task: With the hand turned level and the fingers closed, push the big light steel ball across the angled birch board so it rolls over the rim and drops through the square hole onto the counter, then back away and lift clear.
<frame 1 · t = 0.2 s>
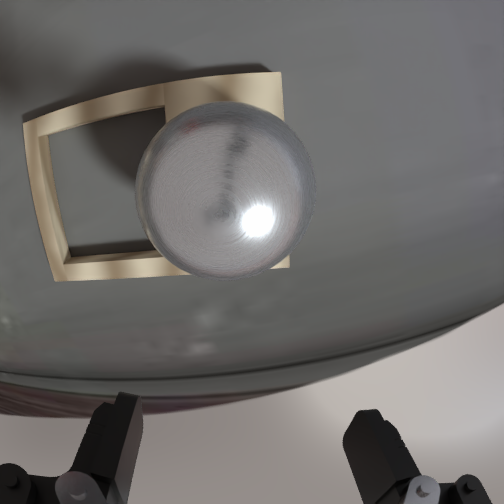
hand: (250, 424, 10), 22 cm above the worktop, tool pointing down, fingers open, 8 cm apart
hole board: (147, 182, 27), on the worktop
ball: (225, 190, 20), point 8 cm above the worktop, touching hole board
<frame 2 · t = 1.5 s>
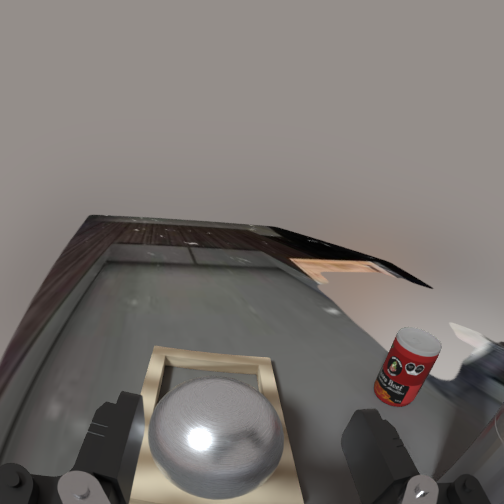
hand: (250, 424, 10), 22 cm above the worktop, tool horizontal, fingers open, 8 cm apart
canned food: (393, 393, 42), on the worktop
hole board: (210, 425, 33), on the worktop
ball: (215, 438, 23), point 8 cm above the worktop, touching hole board
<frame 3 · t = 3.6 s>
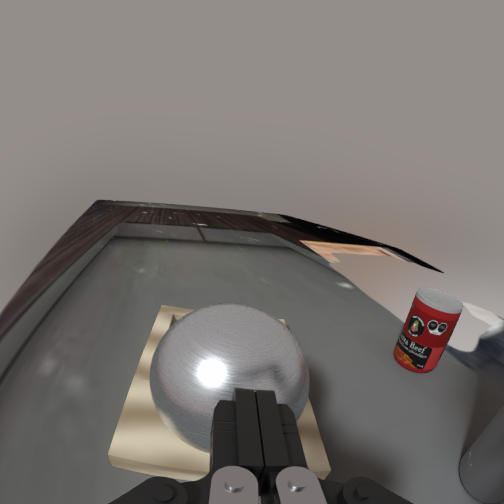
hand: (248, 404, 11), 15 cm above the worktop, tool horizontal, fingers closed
canned food: (413, 361, 40), on the worktop
hole board: (220, 384, 31), on the worktop
ball: (229, 380, 21), point 8 cm above the worktop, touching hole board
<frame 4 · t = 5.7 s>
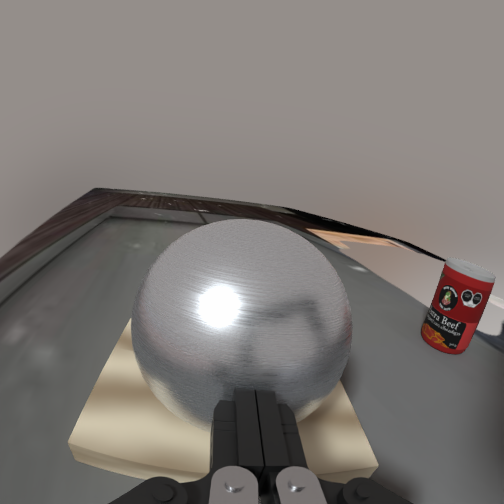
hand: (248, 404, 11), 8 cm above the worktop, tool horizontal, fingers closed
canned food: (442, 342, 34), on the worktop
hole board: (224, 362, 25), on the worktop
ball: (241, 329, 16), point 8 cm above the worktop, tilted 8°, touching hole board
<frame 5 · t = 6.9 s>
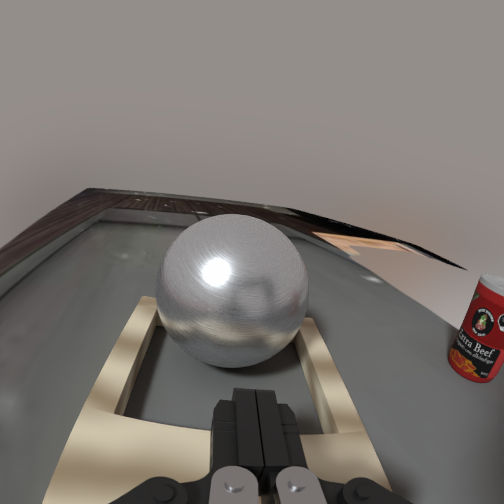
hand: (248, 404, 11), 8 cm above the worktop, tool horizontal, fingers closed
canned food: (470, 368, 28), on the worktop
hole board: (225, 417, 19), on the worktop
ball: (231, 291, 24), point 7 cm above the worktop, tilted 154°, touching hole board
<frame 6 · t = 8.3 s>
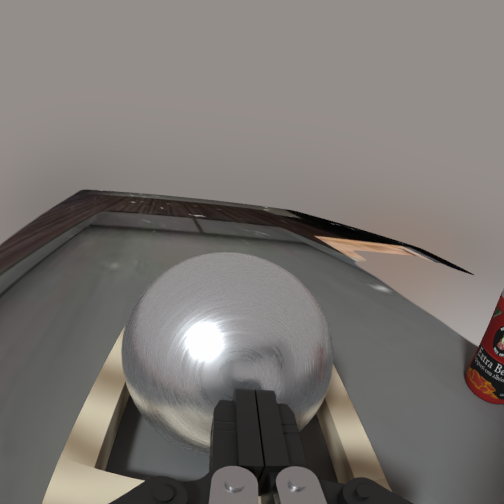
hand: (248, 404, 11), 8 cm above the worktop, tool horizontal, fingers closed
canned food: (487, 387, 24), on the worktop
hole board: (225, 465, 15), on the worktop
ball: (226, 356, 17), point 6 cm above the worktop, tilted 119°, touching gripper
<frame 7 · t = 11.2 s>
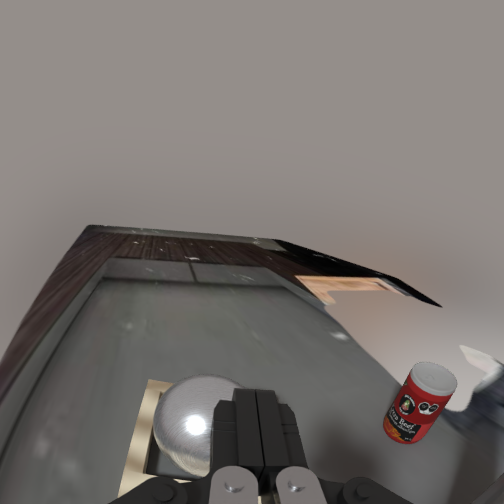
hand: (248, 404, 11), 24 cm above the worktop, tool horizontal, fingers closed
canned food: (402, 429, 37), on the worktop
hole board: (207, 470, 28), on the worktop
ball: (208, 426, 28), point 6 cm above the worktop, tilted 105°
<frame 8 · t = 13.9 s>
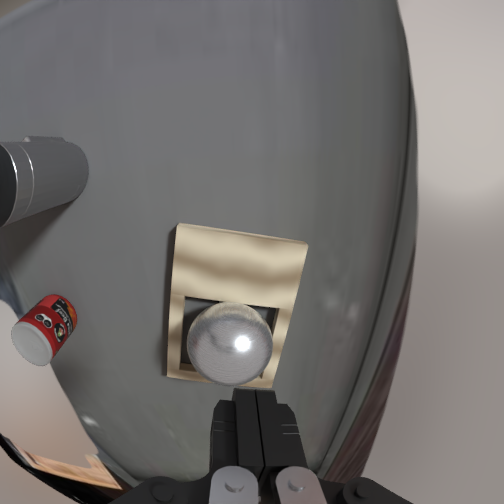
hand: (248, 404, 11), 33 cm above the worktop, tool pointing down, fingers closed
canned food: (60, 312, 45), on the worktop
hole board: (229, 313, 46), on the worktop
ball: (229, 344, 41), point 6 cm above the worktop, tilted 98°
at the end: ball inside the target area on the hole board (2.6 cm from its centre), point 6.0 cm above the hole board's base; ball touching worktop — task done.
